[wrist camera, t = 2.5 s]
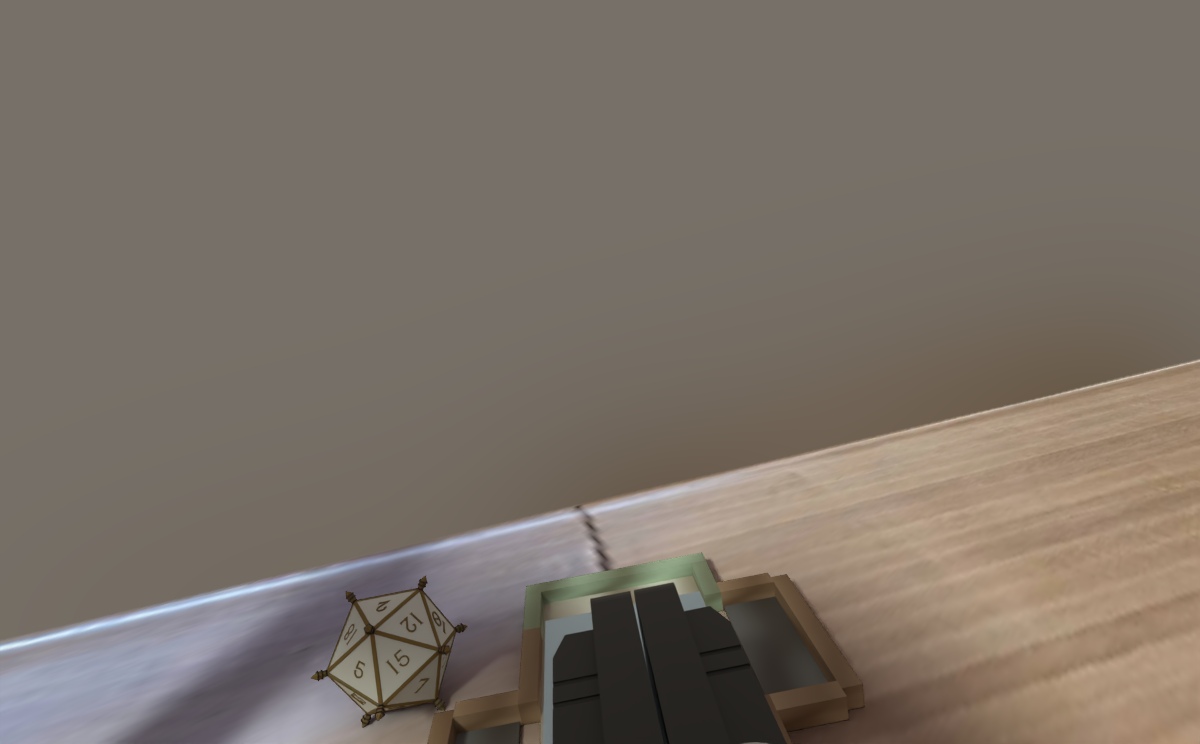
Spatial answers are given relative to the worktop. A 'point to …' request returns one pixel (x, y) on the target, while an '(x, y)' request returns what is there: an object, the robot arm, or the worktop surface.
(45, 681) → the worktop surface
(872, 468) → the worktop surface
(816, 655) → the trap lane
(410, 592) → the game die
